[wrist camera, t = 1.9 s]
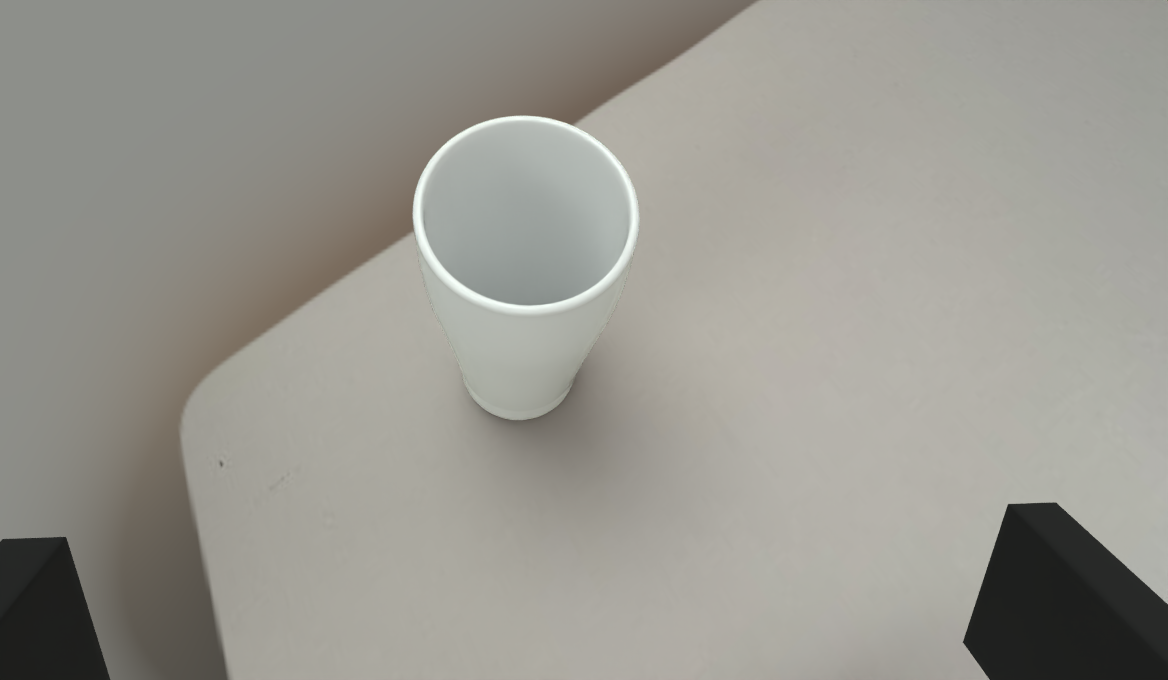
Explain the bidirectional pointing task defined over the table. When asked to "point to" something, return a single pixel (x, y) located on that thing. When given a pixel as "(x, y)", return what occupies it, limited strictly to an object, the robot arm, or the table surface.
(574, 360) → the drinking glass
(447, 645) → the table surface
